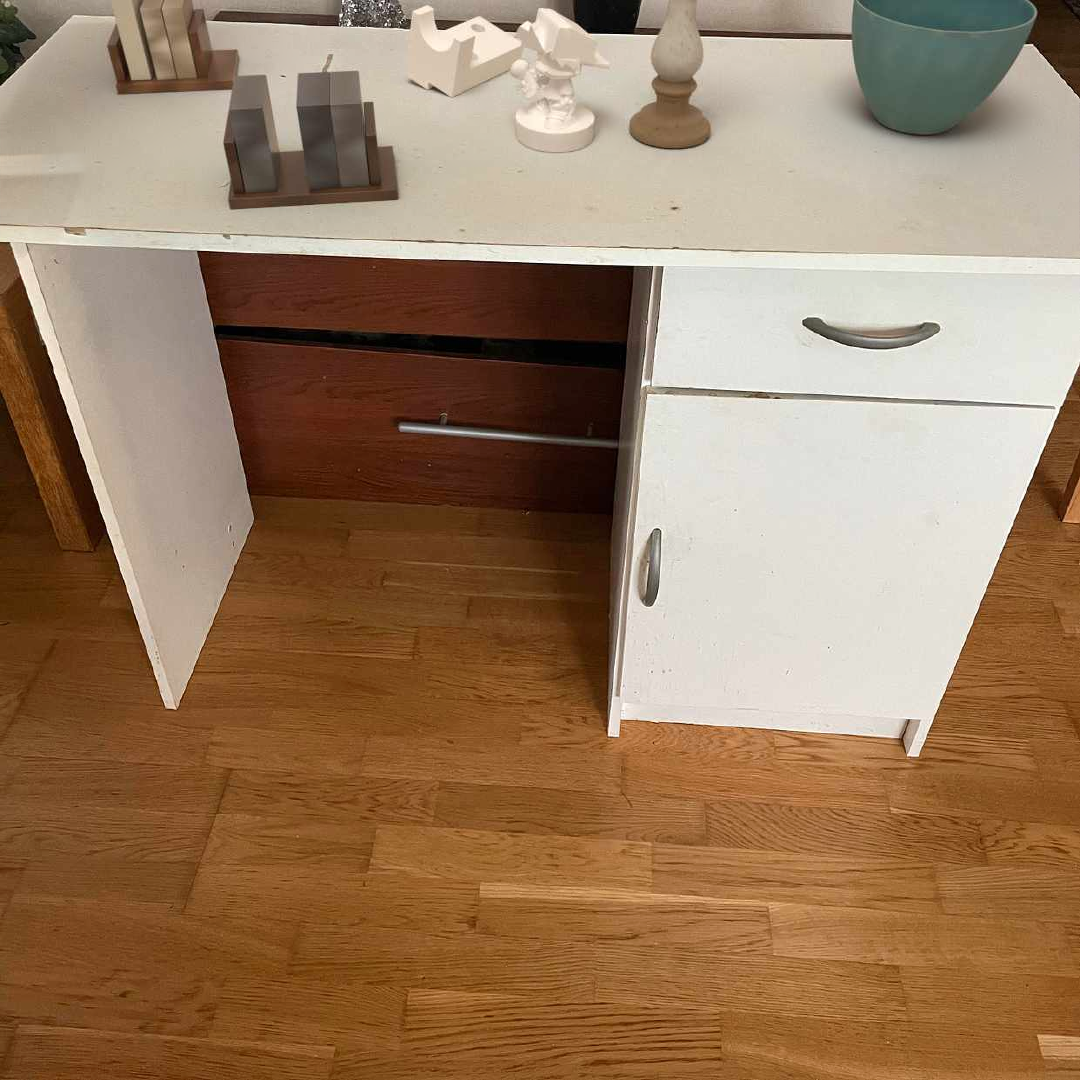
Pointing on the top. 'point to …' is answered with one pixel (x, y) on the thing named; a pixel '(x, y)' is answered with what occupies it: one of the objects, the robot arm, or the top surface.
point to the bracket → (457, 53)
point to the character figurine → (554, 84)
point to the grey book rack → (306, 145)
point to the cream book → (133, 38)
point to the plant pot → (934, 57)
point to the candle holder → (674, 84)
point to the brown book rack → (175, 52)
